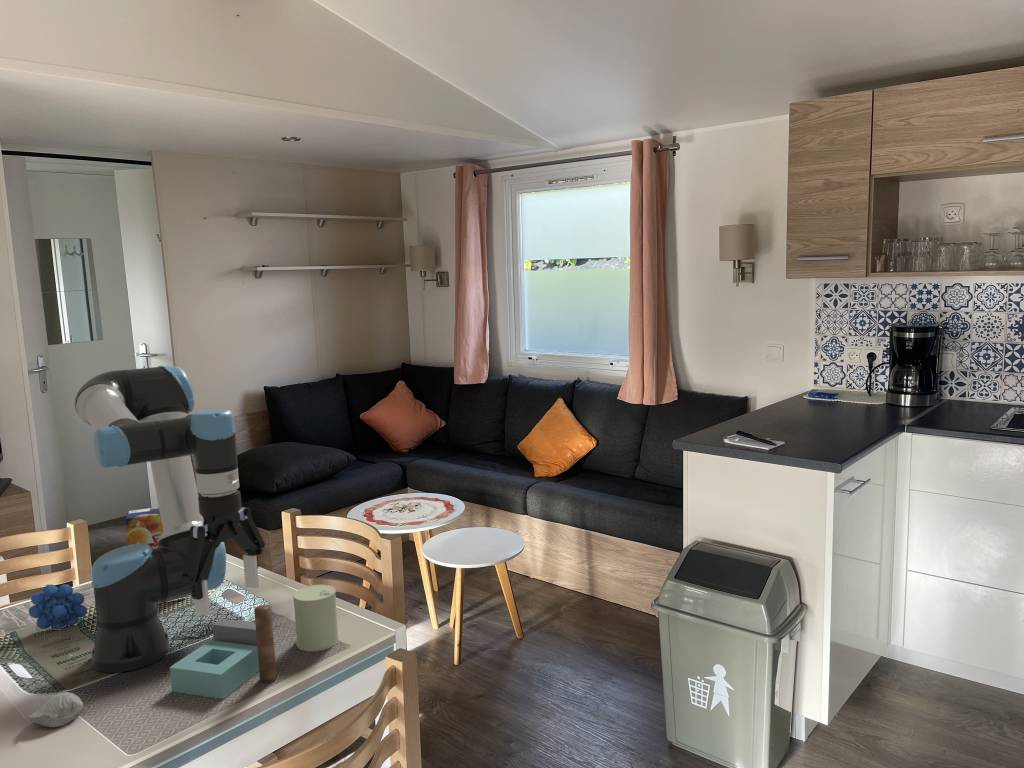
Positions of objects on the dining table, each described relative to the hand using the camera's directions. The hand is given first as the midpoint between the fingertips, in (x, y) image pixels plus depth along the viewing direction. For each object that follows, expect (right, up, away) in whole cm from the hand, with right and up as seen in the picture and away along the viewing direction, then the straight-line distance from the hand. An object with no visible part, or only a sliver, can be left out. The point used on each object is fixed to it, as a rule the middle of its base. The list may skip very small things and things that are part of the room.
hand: (228, 600), depth 149 cm
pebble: (-30, -21, -5) cm, 37 cm away
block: (-5, -18, +8) cm, 21 cm away
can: (+11, -16, +23) cm, 30 cm away
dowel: (+5, -18, +8) cm, 20 cm away
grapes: (-51, -17, +32) cm, 63 cm away
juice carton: (-34, -14, +48) cm, 61 cm away
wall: (-3, -17, +16) cm, 24 cm away
